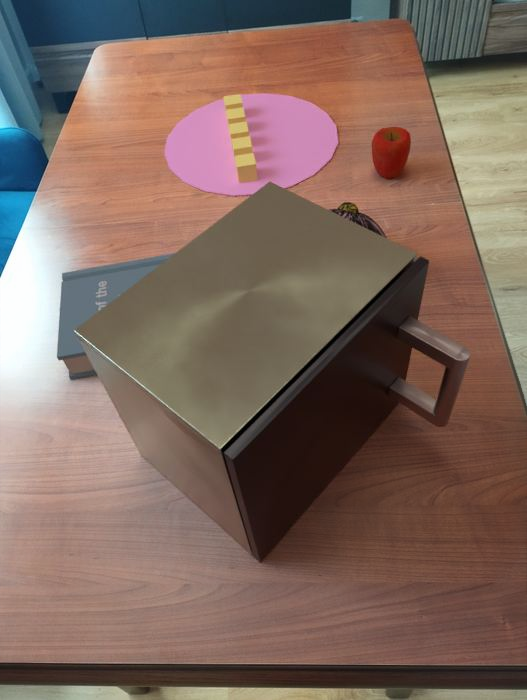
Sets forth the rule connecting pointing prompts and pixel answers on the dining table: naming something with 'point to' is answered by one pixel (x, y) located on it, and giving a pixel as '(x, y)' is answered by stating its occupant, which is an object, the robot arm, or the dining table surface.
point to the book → (93, 304)
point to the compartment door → (339, 410)
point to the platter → (251, 143)
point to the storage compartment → (233, 333)
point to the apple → (390, 151)
